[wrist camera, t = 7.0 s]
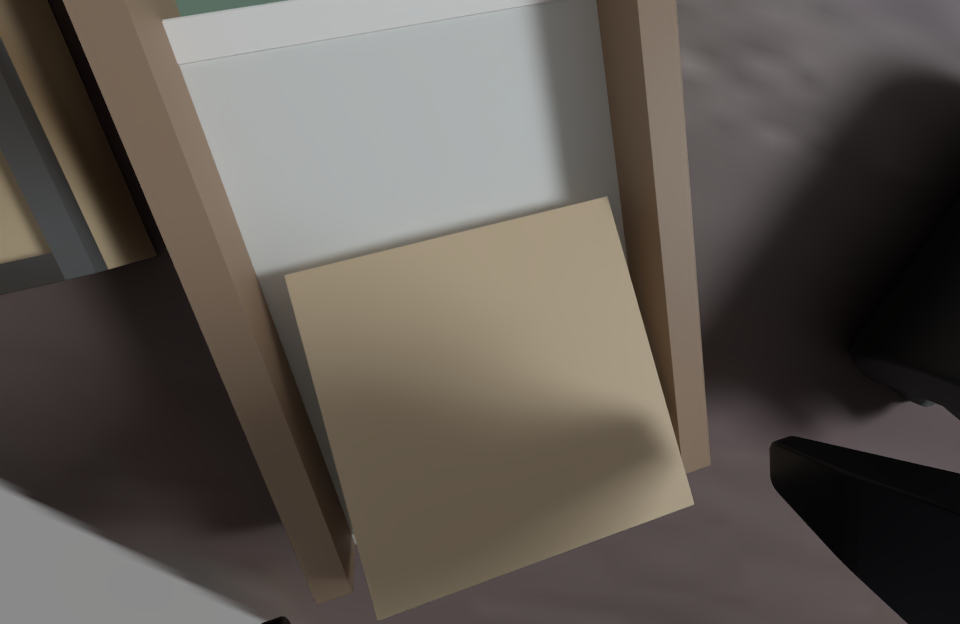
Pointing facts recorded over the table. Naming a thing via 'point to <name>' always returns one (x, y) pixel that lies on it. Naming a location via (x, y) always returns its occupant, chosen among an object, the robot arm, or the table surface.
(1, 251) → the grey framed beige square
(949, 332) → the end cap
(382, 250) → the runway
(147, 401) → the table surface
